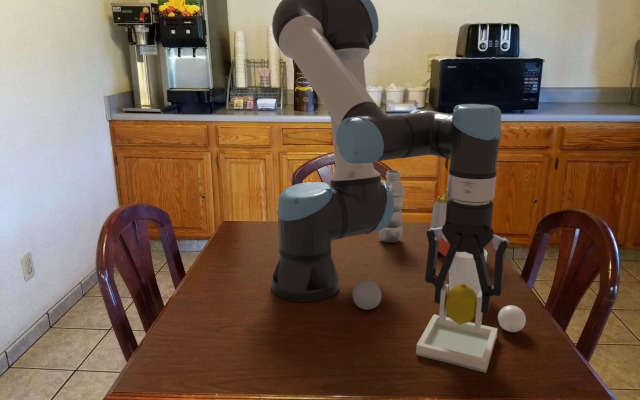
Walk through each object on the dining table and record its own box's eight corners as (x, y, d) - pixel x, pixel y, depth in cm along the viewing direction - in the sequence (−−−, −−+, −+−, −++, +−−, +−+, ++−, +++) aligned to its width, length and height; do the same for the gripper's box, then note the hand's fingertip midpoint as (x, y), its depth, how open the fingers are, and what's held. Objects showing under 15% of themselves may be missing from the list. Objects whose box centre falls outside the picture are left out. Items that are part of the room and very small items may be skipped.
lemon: (470, 316, 94) (473, 276, 92) (480, 332, 89) (484, 290, 87) (440, 317, 94) (443, 277, 92) (448, 333, 89) (452, 291, 87)
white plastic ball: (494, 333, 97) (497, 309, 96) (498, 321, 101) (501, 298, 100) (522, 339, 95) (526, 315, 94) (525, 327, 99) (528, 304, 98)
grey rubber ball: (347, 311, 105) (348, 284, 104) (358, 298, 110) (359, 273, 109) (375, 317, 103) (376, 290, 101) (385, 304, 108) (386, 278, 106)
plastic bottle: (374, 238, 145) (376, 170, 140) (396, 235, 147) (399, 168, 142) (384, 246, 140) (386, 175, 134) (406, 243, 142) (410, 173, 136)
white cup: (484, 303, 109) (489, 259, 106) (446, 299, 110) (450, 256, 107) (481, 286, 116) (485, 245, 113) (445, 283, 118) (448, 243, 115)
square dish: (415, 354, 90) (416, 344, 90) (433, 323, 101) (433, 314, 100) (486, 373, 85) (487, 362, 85) (496, 337, 96) (497, 328, 95)
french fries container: (427, 251, 136) (432, 186, 131) (463, 247, 139) (469, 183, 134) (436, 258, 132) (441, 191, 127) (473, 253, 135) (479, 187, 130)
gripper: (409, 198, 86) (403, 321, 92) (527, 212, 78) (512, 346, 84) (421, 187, 92) (415, 303, 99) (531, 200, 84) (517, 325, 91)
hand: (459, 323), depth 91 cm, fingers closed on lemon, 5 cm apart
